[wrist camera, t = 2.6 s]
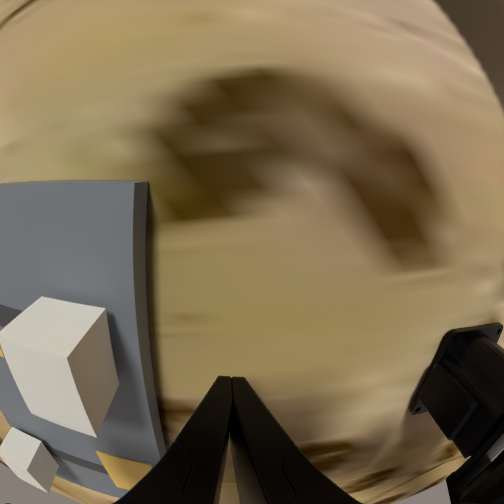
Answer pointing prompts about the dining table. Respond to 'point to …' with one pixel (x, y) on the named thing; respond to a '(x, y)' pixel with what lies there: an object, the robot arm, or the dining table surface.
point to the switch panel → (93, 294)
